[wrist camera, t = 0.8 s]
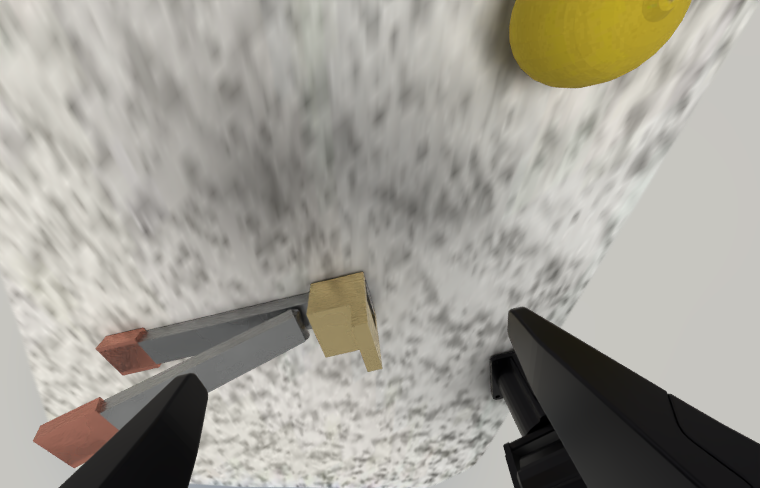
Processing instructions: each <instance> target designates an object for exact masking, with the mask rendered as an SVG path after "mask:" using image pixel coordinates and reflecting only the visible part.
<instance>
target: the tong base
mask: <svg viewBox="0 0 760 488" xmlns="http://www.w3.org/2000/svg"><path fill="white" fill-rule="evenodd" d="M365 284H366V295H367V301H368V305H369V308H370V311H371V314H374V309H373V303H372V299H371V296H370V293H369V289H368V286H367V282H366V280H365ZM308 300H309V293H306V294H302V295H298V296H293V297H289V298H285V299H281V300H276V301H272V302H268V303H263V304H259V305H255V306H251V307H246V308H242V309H238V310H233V311H229V312H225V313H221V314H216V315H212V316H208V317H203V318H199V319H195V320H191V321H186V322H182V323H178V324H173V325H169V326H165V327H161V328H156V329H152V330H148V331H146V330H145V329H144V328H140V329H136V330H131V331H127V332H123V333H119V334H114V335H110V336H106V337H105V338H104V339H103V341H102V342H101V343H100V344H99V345H98V346H97V348H96V350H97V351H98V352H99V353H100V354H101V355H102V356H103V357H104V358H105V359H106V360H107V361H108V362H109V363H111V364H112V365H113V366H114V367H115V368H116V369H117V370H118V371H119V372H120V373H121V374H122V375H127V374H132V373H136V372H140V371H145V370H149V369H153V368H158V367H160V365H161V363H165V362H169V361H173V360H178V359H182V358H186V357H191V356H195V355H198V354H200V353H202V352H204V351H206V350H208V349H210V348H212V347H214V346H216V345H218V344H220V343H222V342H225V341H227V340H229V339H231V338H233V337H235V336H237V335H239V334H241V333H243V332H245V331H247V330H249V329H251V328H253V327H255V326H257V325H259V324H261V323H264V322H266V321H268V320H270V319H272V318H274V317H276V316H278V315H280V314H282V313H284V312H286V311H288V310H290V309H291V310H293V309H298V310H299V313H300V315H301V317H302V319H303V321H304V323H305V325H306V327H307V329H312V326H311V324H310V322H309V320H308V318H307V315H306V313H307V307H308Z"/></svg>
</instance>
